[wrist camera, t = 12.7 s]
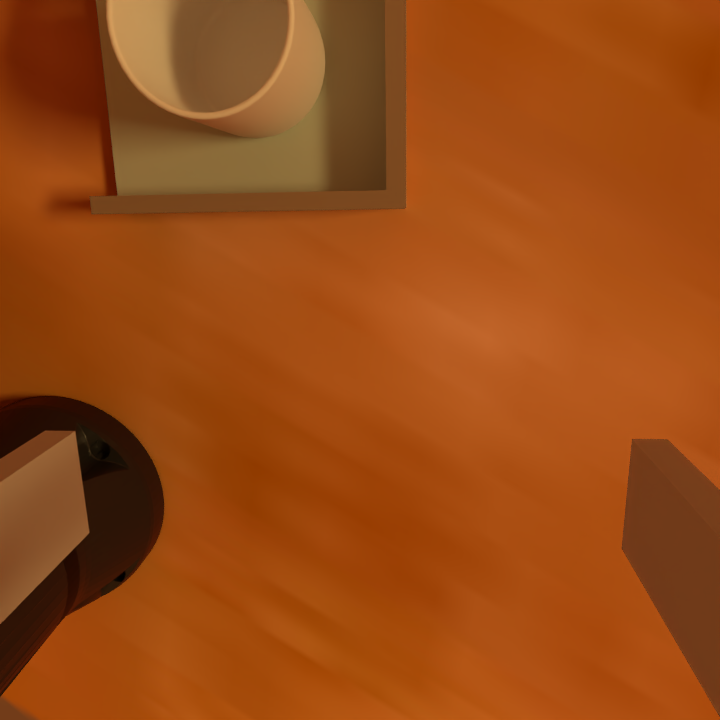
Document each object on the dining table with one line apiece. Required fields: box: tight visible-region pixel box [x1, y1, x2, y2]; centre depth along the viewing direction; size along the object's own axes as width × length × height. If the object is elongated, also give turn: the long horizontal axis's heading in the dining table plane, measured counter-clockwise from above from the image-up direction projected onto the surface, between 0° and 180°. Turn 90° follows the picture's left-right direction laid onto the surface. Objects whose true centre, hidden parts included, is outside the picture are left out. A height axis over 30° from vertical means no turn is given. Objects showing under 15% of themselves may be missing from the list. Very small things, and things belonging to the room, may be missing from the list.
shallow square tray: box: [90, 0, 406, 214], centre depth 35 cm, size 18×19×4 cm
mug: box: [106, 0, 325, 138], centre depth 32 cm, size 12×8×10 cm
